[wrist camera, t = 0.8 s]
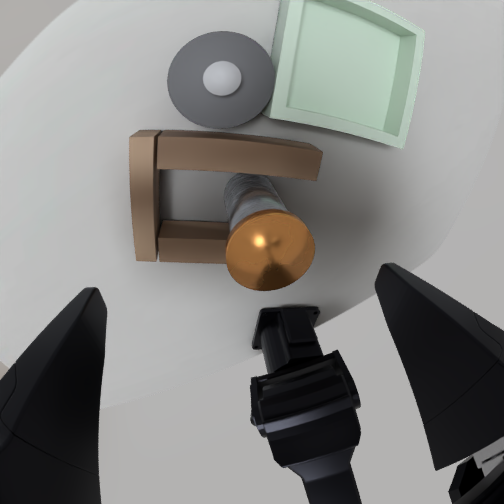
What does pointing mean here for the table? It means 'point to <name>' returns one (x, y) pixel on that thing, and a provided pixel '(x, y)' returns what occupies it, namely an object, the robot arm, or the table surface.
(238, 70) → the pulley
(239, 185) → the pin
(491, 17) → the table surface
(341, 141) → the table surface
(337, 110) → the tray
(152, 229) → the brown u-shaped piece
